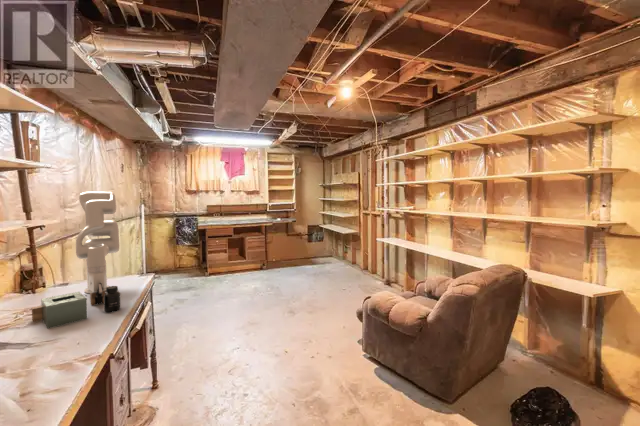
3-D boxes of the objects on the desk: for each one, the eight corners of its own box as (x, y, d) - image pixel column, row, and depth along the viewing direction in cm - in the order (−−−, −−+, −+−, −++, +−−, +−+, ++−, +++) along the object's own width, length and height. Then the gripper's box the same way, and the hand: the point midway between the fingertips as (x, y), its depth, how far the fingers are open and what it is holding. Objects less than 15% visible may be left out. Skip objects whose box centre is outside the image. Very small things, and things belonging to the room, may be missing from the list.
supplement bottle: (112, 313, 147) (111, 289, 147) (100, 312, 149) (99, 288, 148) (123, 308, 154) (123, 285, 153) (112, 307, 155) (112, 284, 155)
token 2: (90, 304, 159) (90, 293, 159) (104, 301, 164) (103, 290, 164) (92, 305, 158) (91, 294, 157) (105, 302, 162) (105, 291, 162)
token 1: (32, 320, 139) (31, 307, 139) (49, 316, 144) (48, 303, 144) (33, 321, 137) (32, 309, 137) (50, 317, 142) (49, 305, 142)
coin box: (42, 319, 139) (41, 298, 139) (79, 311, 150) (79, 291, 149) (47, 328, 130) (46, 306, 130) (87, 318, 141) (86, 298, 140)
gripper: (84, 268, 162) (85, 301, 163) (92, 273, 152) (93, 308, 153) (100, 265, 168) (102, 297, 169) (109, 270, 157) (111, 304, 158)
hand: (98, 302), depth 161 cm, fingers closed on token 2, 2 cm apart
